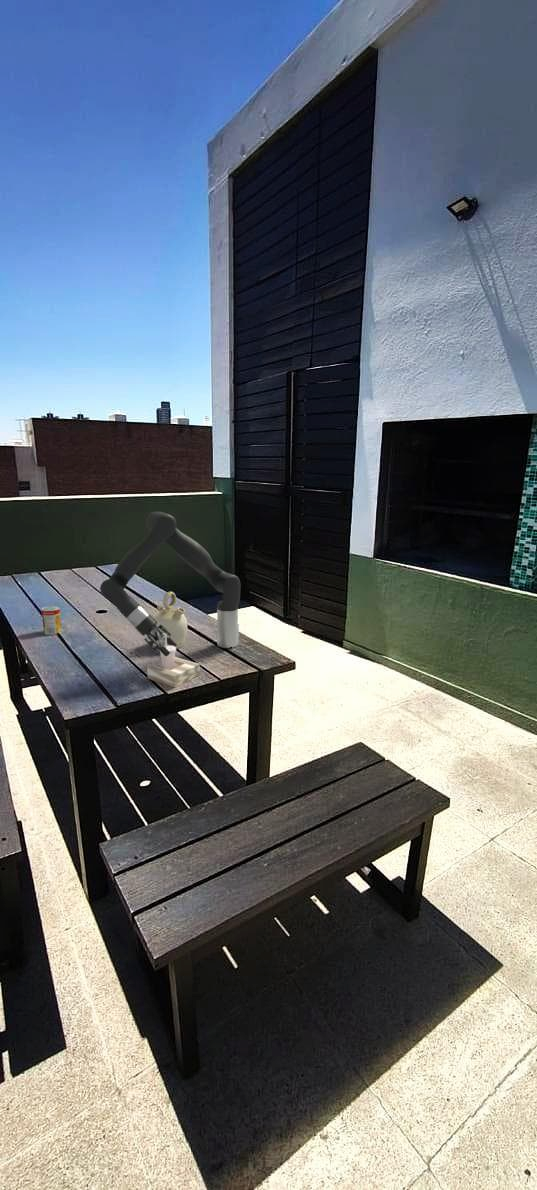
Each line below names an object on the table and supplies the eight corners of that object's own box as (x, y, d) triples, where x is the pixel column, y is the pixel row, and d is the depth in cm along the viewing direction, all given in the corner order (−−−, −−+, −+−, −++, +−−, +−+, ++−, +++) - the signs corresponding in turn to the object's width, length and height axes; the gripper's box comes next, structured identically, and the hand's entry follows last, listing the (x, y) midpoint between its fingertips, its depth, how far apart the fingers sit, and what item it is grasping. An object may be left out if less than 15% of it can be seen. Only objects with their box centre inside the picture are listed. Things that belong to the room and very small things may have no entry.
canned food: (62, 629, 238) (60, 605, 235) (61, 634, 231) (59, 610, 228) (44, 630, 236) (42, 606, 233) (43, 635, 229) (40, 611, 226)
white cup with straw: (161, 668, 192) (159, 634, 188) (177, 668, 192) (176, 634, 189) (158, 675, 185) (157, 640, 182) (175, 674, 186) (174, 640, 182)
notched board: (172, 666, 197) (172, 656, 196) (199, 674, 190) (199, 664, 189) (147, 678, 186) (147, 667, 185) (175, 687, 179) (175, 676, 178)
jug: (194, 645, 222) (193, 591, 215) (166, 653, 211) (164, 598, 204) (174, 636, 232) (173, 585, 225) (146, 644, 221) (144, 591, 214)
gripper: (141, 619, 177) (172, 651, 179) (154, 609, 191) (183, 638, 192) (128, 632, 179) (159, 663, 181) (142, 621, 193) (171, 650, 194)
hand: (171, 650), depth 186 cm, fingers open, 8 cm apart
